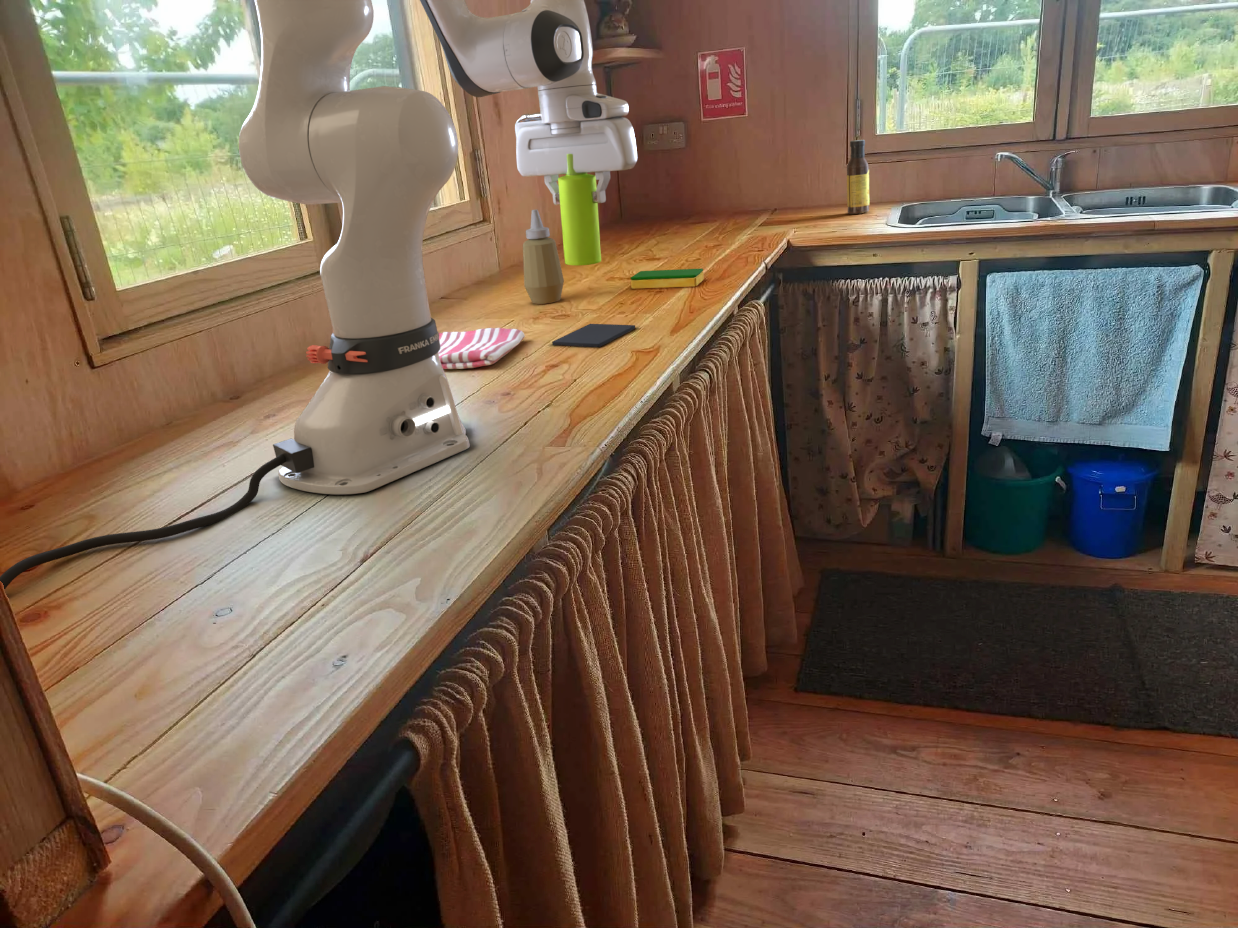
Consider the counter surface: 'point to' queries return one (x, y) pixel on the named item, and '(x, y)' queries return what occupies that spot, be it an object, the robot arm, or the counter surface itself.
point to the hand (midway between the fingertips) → (580, 203)
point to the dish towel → (476, 347)
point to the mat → (594, 335)
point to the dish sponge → (667, 278)
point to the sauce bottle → (857, 179)
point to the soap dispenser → (579, 217)
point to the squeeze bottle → (541, 264)
